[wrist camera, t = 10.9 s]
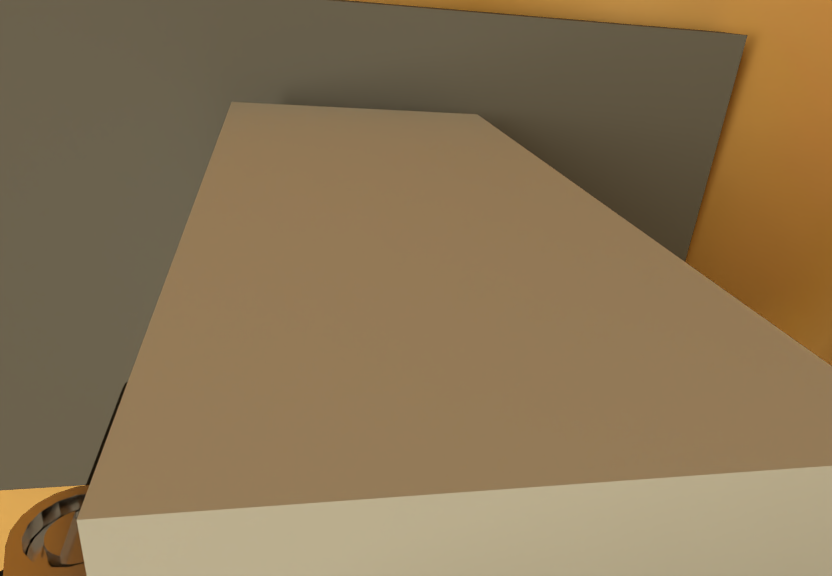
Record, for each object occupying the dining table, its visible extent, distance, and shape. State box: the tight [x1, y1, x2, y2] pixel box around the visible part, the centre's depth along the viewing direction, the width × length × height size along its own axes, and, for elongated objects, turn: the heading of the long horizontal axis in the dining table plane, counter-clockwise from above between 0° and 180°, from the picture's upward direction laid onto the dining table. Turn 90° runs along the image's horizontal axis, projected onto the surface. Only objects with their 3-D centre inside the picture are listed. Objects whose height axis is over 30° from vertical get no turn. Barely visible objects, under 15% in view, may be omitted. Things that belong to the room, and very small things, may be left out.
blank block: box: [77, 102, 832, 576], centre depth 10 cm, size 8×5×11 cm, turn 175°
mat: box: [0, 0, 747, 490], centre depth 16 cm, size 12×18×1 cm, turn 85°
